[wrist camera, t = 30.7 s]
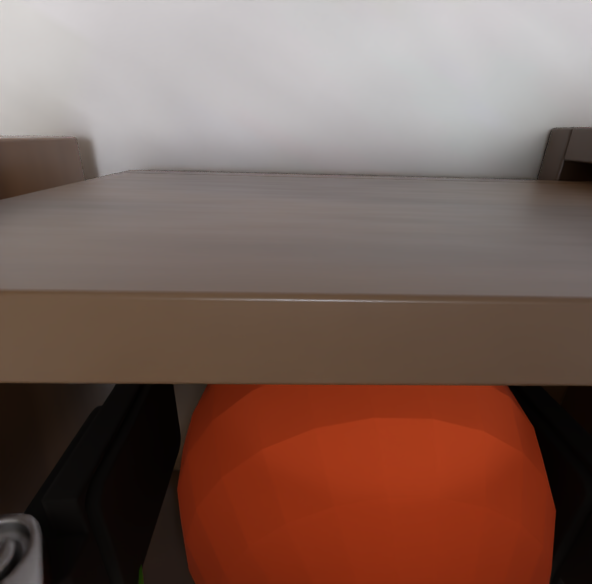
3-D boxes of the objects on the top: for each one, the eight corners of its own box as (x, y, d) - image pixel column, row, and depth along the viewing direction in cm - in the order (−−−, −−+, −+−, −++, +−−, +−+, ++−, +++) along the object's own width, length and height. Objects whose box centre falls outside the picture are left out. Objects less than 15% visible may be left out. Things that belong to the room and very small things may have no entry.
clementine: (235, 479, 13) (186, 854, 6) (134, 315, 10) (-157, 688, 3) (463, 416, 12) (688, 774, 5) (424, 216, 9) (807, 457, 2)
